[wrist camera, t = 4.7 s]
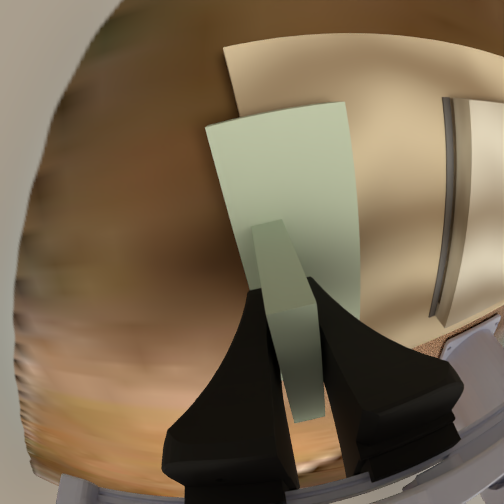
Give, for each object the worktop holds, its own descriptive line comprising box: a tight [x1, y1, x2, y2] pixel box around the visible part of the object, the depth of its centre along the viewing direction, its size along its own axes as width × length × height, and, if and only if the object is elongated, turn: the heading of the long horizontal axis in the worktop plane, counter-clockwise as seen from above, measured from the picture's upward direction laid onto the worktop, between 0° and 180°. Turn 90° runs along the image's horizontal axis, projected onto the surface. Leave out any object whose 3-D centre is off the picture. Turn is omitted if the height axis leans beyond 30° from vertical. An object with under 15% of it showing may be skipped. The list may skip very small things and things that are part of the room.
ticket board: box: [223, 33, 504, 349], centre depth 13 cm, size 20×20×3 cm
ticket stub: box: [205, 101, 360, 423], centre depth 11 cm, size 14×5×6 cm, turn 12°
